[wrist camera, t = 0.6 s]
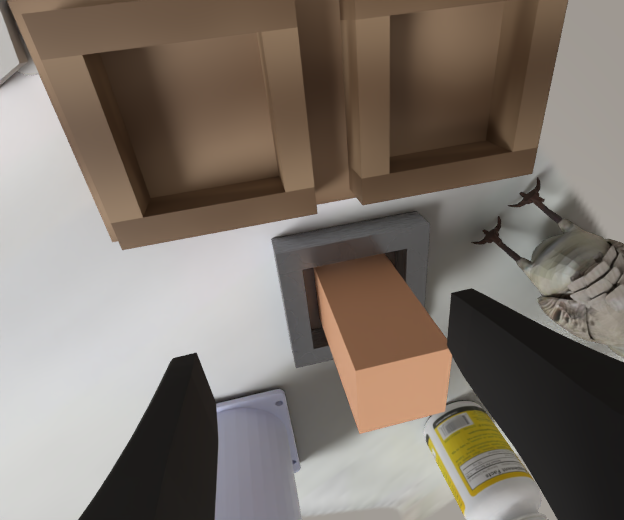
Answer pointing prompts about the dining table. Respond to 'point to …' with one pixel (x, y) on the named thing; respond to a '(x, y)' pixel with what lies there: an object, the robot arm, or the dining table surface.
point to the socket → (337, 248)
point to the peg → (382, 343)
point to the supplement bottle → (481, 465)
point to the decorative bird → (575, 278)
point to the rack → (288, 102)
